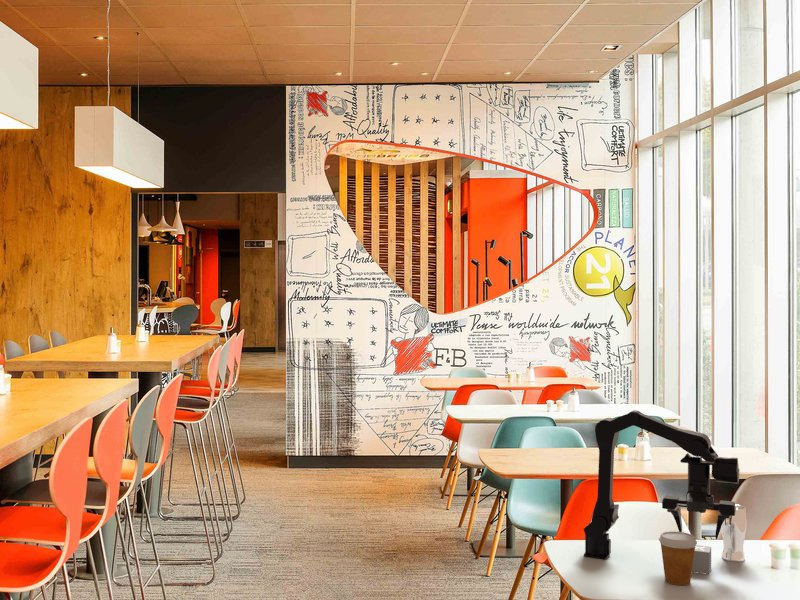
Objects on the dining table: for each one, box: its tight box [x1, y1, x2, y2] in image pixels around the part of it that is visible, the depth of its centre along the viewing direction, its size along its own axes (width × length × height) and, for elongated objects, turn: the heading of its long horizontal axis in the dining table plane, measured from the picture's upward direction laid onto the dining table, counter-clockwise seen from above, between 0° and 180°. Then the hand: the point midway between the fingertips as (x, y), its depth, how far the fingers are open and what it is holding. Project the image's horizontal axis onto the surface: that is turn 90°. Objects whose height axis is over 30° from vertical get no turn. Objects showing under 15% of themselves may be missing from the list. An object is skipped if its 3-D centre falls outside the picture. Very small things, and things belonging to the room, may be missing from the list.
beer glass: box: [720, 503, 747, 563], centre depth 237 cm, size 7×7×15 cm
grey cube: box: [692, 544, 712, 575], centre depth 227 cm, size 6×6×6 cm
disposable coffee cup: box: [658, 530, 698, 586], centre depth 217 cm, size 10×10×12 cm
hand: (698, 536), depth 227 cm, fingers open, 9 cm apart
